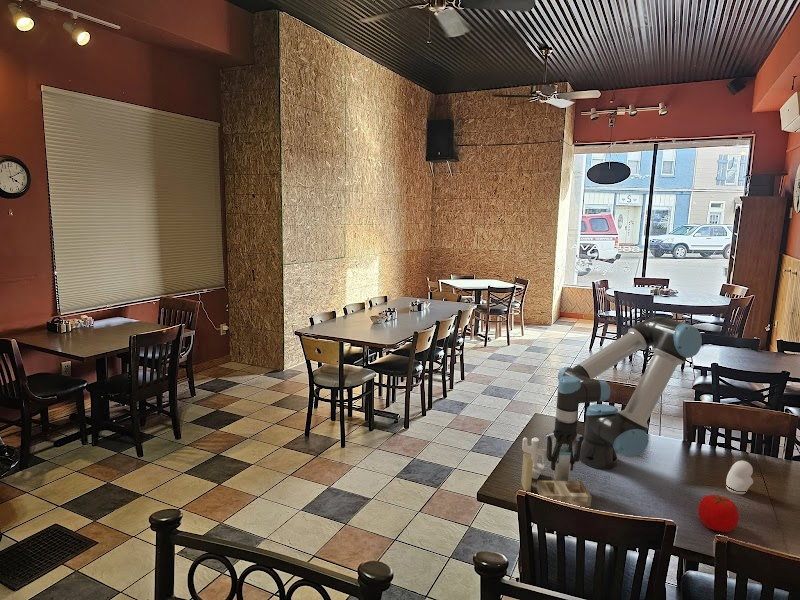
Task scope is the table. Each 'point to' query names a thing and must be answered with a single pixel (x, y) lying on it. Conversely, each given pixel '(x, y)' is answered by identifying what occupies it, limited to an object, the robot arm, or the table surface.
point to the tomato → (718, 513)
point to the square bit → (563, 464)
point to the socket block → (565, 492)
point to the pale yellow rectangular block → (527, 472)
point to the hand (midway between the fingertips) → (560, 477)
